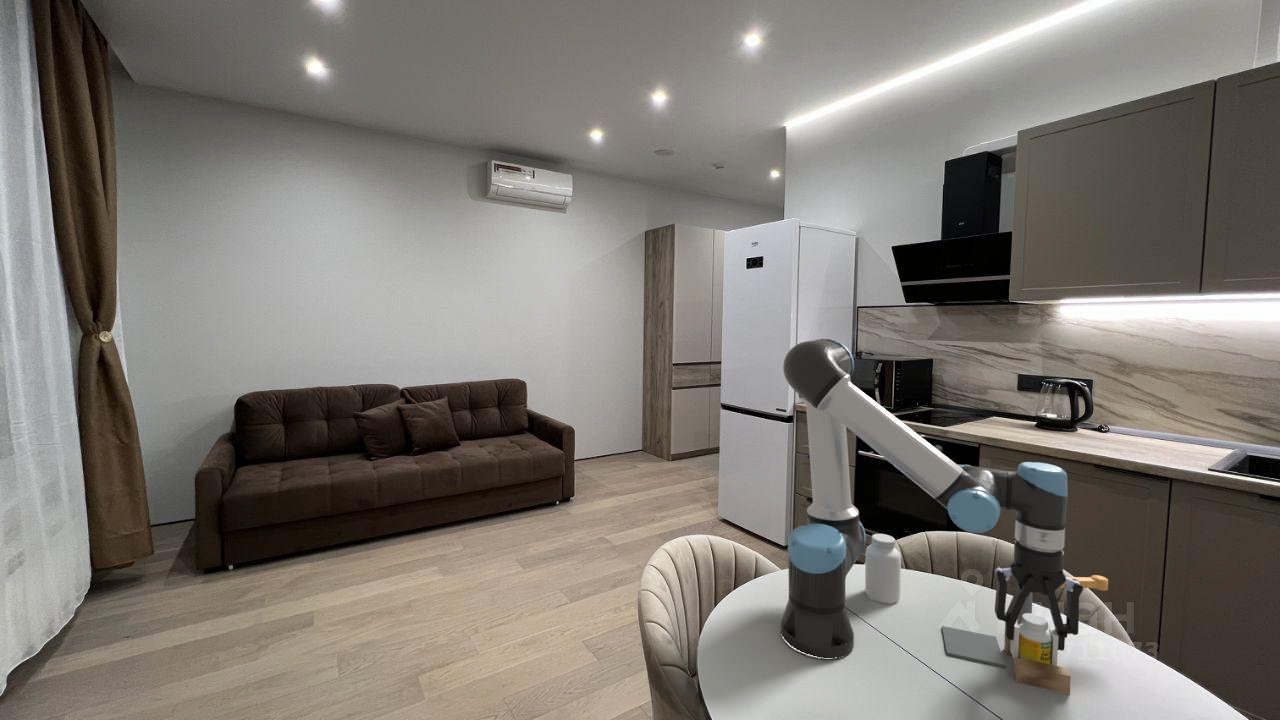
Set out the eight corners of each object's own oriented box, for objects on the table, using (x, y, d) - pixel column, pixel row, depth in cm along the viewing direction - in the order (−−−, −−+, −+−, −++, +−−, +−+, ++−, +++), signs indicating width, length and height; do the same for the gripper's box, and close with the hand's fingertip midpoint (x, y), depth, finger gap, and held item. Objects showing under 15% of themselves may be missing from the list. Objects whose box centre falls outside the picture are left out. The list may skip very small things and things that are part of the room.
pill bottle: (901, 592, 129) (902, 535, 128) (898, 608, 122) (899, 547, 121) (867, 584, 133) (868, 528, 132) (862, 599, 127) (863, 540, 125)
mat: (946, 654, 105) (946, 652, 105) (941, 627, 114) (941, 625, 114) (1005, 667, 101) (1005, 665, 101) (995, 638, 110) (995, 636, 110)
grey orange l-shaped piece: (1108, 644, 105) (1111, 578, 104) (1021, 642, 107) (1024, 576, 106) (1098, 636, 108) (1101, 571, 107) (1013, 634, 109) (1015, 570, 108)
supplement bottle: (1022, 653, 104) (1024, 607, 103) (1054, 667, 99) (1057, 620, 99) (1010, 663, 101) (1013, 616, 100) (1043, 678, 96) (1046, 630, 96)
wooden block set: (1016, 682, 97) (1017, 664, 97) (998, 632, 112) (998, 616, 112) (1070, 694, 93) (1070, 676, 93) (1043, 641, 109) (1044, 625, 108)
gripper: (985, 543, 99) (980, 658, 101) (1108, 562, 91) (1100, 685, 93) (978, 529, 105) (974, 636, 107) (1093, 545, 98) (1086, 660, 100)
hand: (1032, 658), depth 100 cm, fingers closed on supplement bottle, 5 cm apart
